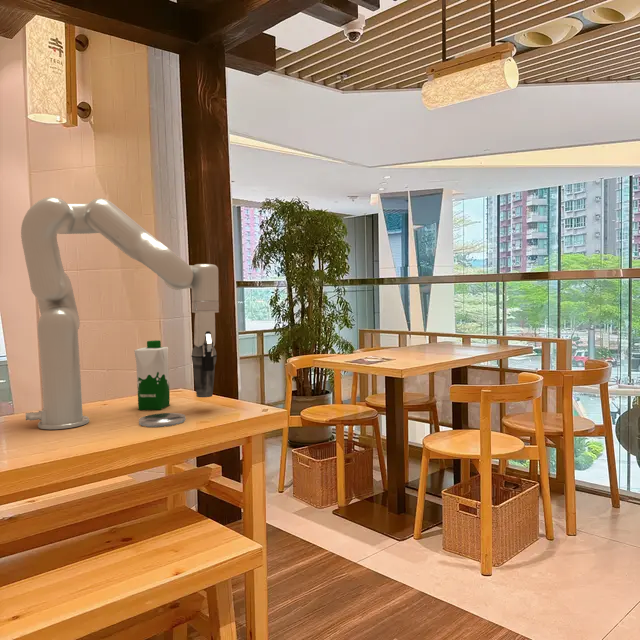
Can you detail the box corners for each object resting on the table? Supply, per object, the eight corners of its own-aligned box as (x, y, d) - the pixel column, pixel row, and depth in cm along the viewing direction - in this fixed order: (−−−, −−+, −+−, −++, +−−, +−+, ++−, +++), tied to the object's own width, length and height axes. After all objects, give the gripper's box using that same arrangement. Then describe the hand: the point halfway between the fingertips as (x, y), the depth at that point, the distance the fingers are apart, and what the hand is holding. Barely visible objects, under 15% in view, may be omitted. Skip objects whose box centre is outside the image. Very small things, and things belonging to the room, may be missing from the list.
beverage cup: (187, 397, 168) (186, 327, 167) (197, 393, 175) (196, 325, 175) (211, 398, 167) (211, 327, 166) (220, 394, 174) (220, 326, 173)
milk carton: (173, 404, 183) (170, 340, 182) (162, 410, 174) (159, 342, 173) (146, 404, 184) (143, 340, 183) (133, 410, 176) (130, 343, 174)
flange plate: (139, 429, 151) (139, 424, 151) (138, 419, 163) (138, 415, 163) (187, 424, 155) (187, 419, 155) (183, 415, 167) (183, 411, 166)
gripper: (188, 306, 177) (189, 366, 178) (195, 308, 161) (196, 373, 162) (213, 306, 180) (214, 365, 180) (223, 307, 163) (223, 372, 164)
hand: (205, 368), depth 171 cm, fingers closed on beverage cup, 7 cm apart
